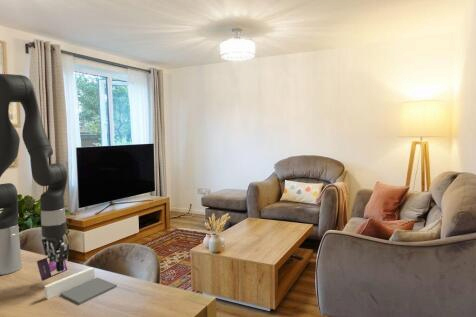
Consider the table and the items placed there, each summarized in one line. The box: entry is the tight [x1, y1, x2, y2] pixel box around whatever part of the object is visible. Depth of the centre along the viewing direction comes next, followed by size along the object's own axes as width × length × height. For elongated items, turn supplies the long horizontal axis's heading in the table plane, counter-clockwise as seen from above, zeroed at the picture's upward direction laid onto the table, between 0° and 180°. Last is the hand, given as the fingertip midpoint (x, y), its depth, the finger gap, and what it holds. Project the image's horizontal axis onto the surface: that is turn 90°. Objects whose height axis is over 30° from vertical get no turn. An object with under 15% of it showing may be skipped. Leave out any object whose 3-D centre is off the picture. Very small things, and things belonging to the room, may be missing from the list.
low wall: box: [44, 266, 96, 300], centre depth 109 cm, size 2×16×4 cm, turn 146°
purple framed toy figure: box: [36, 255, 68, 282], centre depth 113 cm, size 7×5×9 cm
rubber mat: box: [59, 277, 118, 305], centre depth 107 cm, size 11×13×1 cm
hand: (56, 269), depth 114 cm, fingers closed on purple framed toy figure, 4 cm apart
